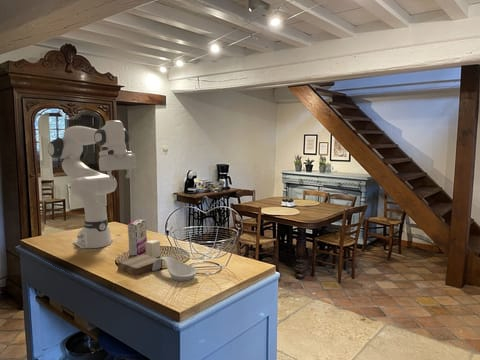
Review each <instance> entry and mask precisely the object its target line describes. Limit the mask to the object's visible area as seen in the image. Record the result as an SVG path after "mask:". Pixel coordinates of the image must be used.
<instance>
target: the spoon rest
mask: <svg viewBox="0 0 480 360" xmlns="http://www.w3.org/2000/svg"><path fill="white" fill-rule="evenodd" d="M161 261H162V262H164V264H165V266H166V269H167V272H168V274H169V275H170V276H171V278H172V279H173V280H175V281H177V282H187V281H190V280H192V279H193V278H194V277H196V275H197V274H198V269H197V268H196V267H193V266H192V265H190V264H187V263H185V262H182V261H179V260H177V259H176V258H175V259H174V258H173V257H169V256H162V257H158V259H157V260H156V261H155V262H154V264H153V267H152V271H151V272H156V271H158V270H161V269H160V268H162V267H161Z"/></svg>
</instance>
